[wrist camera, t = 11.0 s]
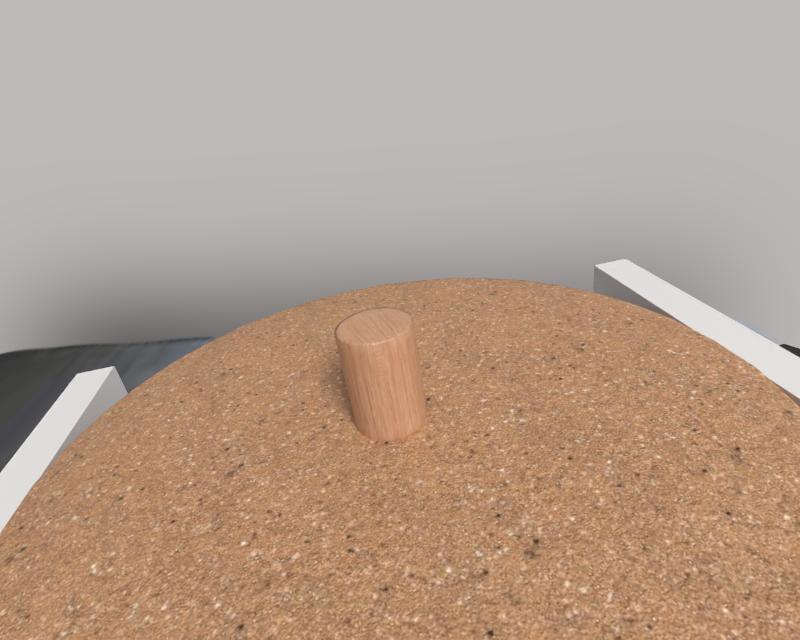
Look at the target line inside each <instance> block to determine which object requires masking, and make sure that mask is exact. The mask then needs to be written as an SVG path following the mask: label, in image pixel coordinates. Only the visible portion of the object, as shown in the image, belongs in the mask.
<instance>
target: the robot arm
mask: <svg viewBox="0 0 800 640" xmlns="http://www.w3.org/2000/svg"><path fill="white" fill-rule="evenodd" d="M594 293H598V294H602V295H605V296H608V297H611V298H615V299H618V300H621V301H625V302H628V303H631V304H635V305H637V306H640V307H642V308H645V309H648V310H650V311H653V312H656V313H658V314H661V315H663V316H666V317H669V318H671V319H674V320H676V321H678V322H680V323H682V324H684V325H686V326H687V327H689V328H691V329H693V330H695V331H697V332H699V333H701V334H703V335H705V336H706V337H708V338H710V339H712V340H714V341H716V342H717V343H719V344H720V345H722V346H724V347H725V348H727V349H728V350H730V351H731V352H733V353H734V354H736V355H737V356H739V357H741V358H742V359H744V360H745V361H747V362H748V363H750V364H751V365H753V366H754V367H756V368H757V369H758V370H760V371H761V372H762V373H763V374H764V375H765V376H766V377H767V378H768V379H770V380H771V381H772V382H773V383H774V384H775V385H776V386H777V387H779V388H780V389H781V390H782V391H783V392H784V393H785V394H786V395H788V396H789V397H790V398H791V399H792V400H793V401H794V402H795V403H796V404H797V405H798V406H799V407H800V349H798V348H795V347H792V346H789V345H786V344H782V345H777V344H775V343H773V342H771V341H770V340H768V339H766V338H764V337H763V336H761V335H759V334H757V333H755V332H754V331H752V330H750V329H748V328H747V327H745V326H743V325H741V324H740V323H738V322H736V321H734V320H733V319H731V318H729V317H727V316H725V315H724V314H722V313H720V312H718V311H716V310H715V309H713V308H711V307H709V306H708V305H706V304H704V303H702V302H701V301H699V300H697V299H695V298H694V297H692V296H690V295H688V294H687V293H684V292H683V291H681V290H679V289H678V288H676V287H674V286H672V285H671V284H669V283H667V282H665V281H664V280H662V279H660V278H658V277H656V276H655V275H653V274H651V273H649V272H647V271H646V270H644V269H642V268H641V267H639V266H637V265H635V264H634V263H632V262H630V261H628V260H626V259H623V260H618V261H613V262H608V263H604V264H599V265H595V266H594ZM127 394H128V393H127V391H126V389H125V387H124V385H123V383H122V381H121V379H120V377H119V375H118V373H117V371H116V369H115V367H114V366H113V367H108V368H103V369H98V370H93V371H89V372H84V373H79V374H77V375H76V376H75V377H74V379H73V380H72V381H71V383H70V384H69V385H68V386H67V388H66V389H65V390H64V392H63V393H62V394H61V395H60V397H59V398H58V399H57V401H56V402H55V403H54V405H53V406H52V407H51V408H50V410H49V411H48V412H47V414H46V415H45V416H44V417H43V419H42V420H41V421H40V423H39V424H38V425H37V426H36V428H35V429H34V430H33V432H32V433H31V434H30V435H29V437H28V438H27V439H26V441H25V442H24V443H23V445H22V446H21V447H20V448H19V450H18V451H17V452H16V454H15V455H14V456H13V457H12V459H11V460H10V461H9V463H8V464H7V465H6V466H5V468H4V469H3V470H2V472H1V473H0V533H1V531H2V530H3V528H4V527H5V525H6V524H7V522H8V521H9V520H10V518H11V517H12V515H13V514H14V512H15V511H16V509H17V508H18V506H19V505H20V503H21V502H22V501H23V499H24V498H25V496H26V495H27V493H28V492H29V490H30V489H31V487H32V486H33V485H34V484H35V482H36V481H37V480H38V479H39V478H40V477H41V476H42V475H43V474H44V472H45V471H46V470H47V469H48V468H49V467H50V466H51V465H52V464H53V462H54V461H55V460H56V459H57V458H58V457H59V456H60V455H61V454H62V452H63V451H64V450H65V449H66V448H67V447H68V446H69V445H70V444H71V443H72V442H73V441H74V440H75V439H76V438H77V437H78V436H79V435H80V434H81V433H82V432H84V431H85V430H86V429H87V428H88V427H89V426H90V425H91V424H92V423H93V422H94V421H95V420H96V419H97V418H98V417H99V416H100V415H101V414H103V413H104V412H105V411H106V410H108V409H109V408H110V407H111V406H113V405H114V404H115V403H117V402H118V401H119V400H121V399H122V398H123V397H124V396H126V395H127Z"/></svg>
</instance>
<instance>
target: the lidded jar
mask: <svg viewBox="0 0 800 640" xmlns="http://www.w3.org/2000/svg"><path fill="white" fill-rule="evenodd" d="M0 640H800V407H799V406H798V405H797V404H796V403H795V402H794V401H793V400H792V399H791V398H790V397H789V396H788V395H786V394H785V393H784V392H783V391H782V390H781V389H780V388H779V387H777V386H776V385H775V384H774V383H773V382H772V381H771V380H770V379H768V378H767V377H766V376H765V375H764V374H763V373H762V372H761V371H760V370H758V369H757V368H756V367H754V366H753V365H751V364H750V363H748V362H747V361H745V360H744V359H742V358H741V357H739V356H737V355H736V354H734V353H733V352H731V351H730V350H728V349H727V348H725V347H724V346H722V345H720V344H719V343H717V342H716V341H714V340H712V339H710V338H708V337H706V336H705V335H703V334H701V333H699V332H697V331H695V330H693V329H691V328H689V327H687V326H686V325H684V324H682V323H680V322H678V321H676V320H674V319H671V318H669V317H666V316H663V315H661V314H658V313H656V312H653V311H650V310H648V309H645V308H642V307H640V306H637V305H635V304H631V303H628V302H625V301H621V300H618V299H615V298H611V297H608V296H605V295H602V294H598V293H594V292H589V291H584V290H579V289H574V288H569V287H564V286H559V285H553V284H545V283H538V282H530V281H523V280H507V279H489V278H447V279H434V280H421V281H412V282H403V283H395V284H387V285H380V286H375V287H370V288H365V289H360V290H355V291H351V292H346V293H341V294H337V295H334V296H329V297H325V298H321V299H318V300H313V301H310V302H307V303H305V304H301V305H298V306H295V307H293V308H289V309H286V310H283V311H280V312H278V313H275V314H273V315H270V316H268V317H265V318H262V319H260V320H257V321H255V322H252V323H249V324H247V325H244V326H242V327H240V328H238V329H236V330H234V331H232V332H230V333H228V334H225V335H223V336H221V337H219V338H217V339H215V340H213V341H211V342H209V343H207V344H205V345H204V346H202V347H200V348H198V349H196V350H194V351H193V352H191V353H189V354H187V355H185V356H184V357H182V358H180V359H178V360H176V361H175V362H173V363H172V364H170V365H169V366H167V367H166V368H164V369H163V370H161V371H160V372H158V373H157V374H155V375H154V376H152V377H151V378H149V379H148V380H146V381H145V382H143V383H142V384H140V385H139V386H138V387H136V388H135V389H134V390H132V391H131V392H130V393H128V394H127V395H126V396H124V397H123V398H122V399H121V400H119V401H118V402H117V403H115V404H114V405H113V406H111V407H110V408H109V409H108V410H106V411H105V412H104V413H103V414H101V415H100V416H99V417H98V418H97V419H96V420H95V421H94V422H93V423H92V424H91V425H90V426H89V427H88V428H87V429H86V430H85V431H84V432H82V433H81V434H80V435H79V436H78V437H77V438H76V439H75V440H74V441H73V442H72V443H71V444H70V445H69V446H68V447H67V448H66V449H65V450H64V451H63V452H62V454H61V455H60V456H59V457H58V458H57V459H56V460H55V461H54V462H53V464H52V465H51V466H50V467H49V468H48V469H47V470H46V471H45V472H44V474H43V475H42V476H41V477H40V478H39V479H38V480H37V481H36V482H35V484H34V485H33V486H32V487H31V489H30V490H29V492H28V493H27V495H26V496H25V498H24V499H23V501H22V502H21V503H20V505H19V506H18V508H17V509H16V511H15V512H14V514H13V515H12V517H11V518H10V520H9V521H8V522H7V524H6V525H5V527H4V528H3V530H2V531H1V533H0Z"/></svg>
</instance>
